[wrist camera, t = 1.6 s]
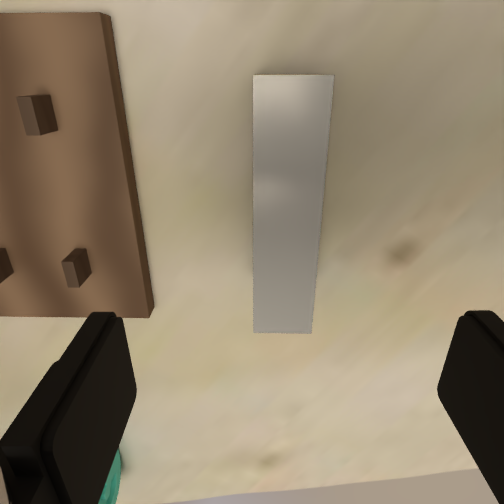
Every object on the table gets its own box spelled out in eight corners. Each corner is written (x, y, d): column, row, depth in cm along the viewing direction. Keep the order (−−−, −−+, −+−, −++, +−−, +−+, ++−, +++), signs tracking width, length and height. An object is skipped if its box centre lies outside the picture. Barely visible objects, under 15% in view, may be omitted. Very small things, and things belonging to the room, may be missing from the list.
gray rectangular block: (313, 74, 22) (334, 74, 15) (300, 275, 28) (311, 333, 22) (255, 74, 22) (252, 75, 16) (255, 274, 28) (253, 332, 22)
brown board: (110, 16, 21) (83, 6, 17) (154, 306, 29) (141, 334, 26) (-130, 18, 21) (-199, 8, 18) (-14, 305, 30) (-47, 332, 27)
